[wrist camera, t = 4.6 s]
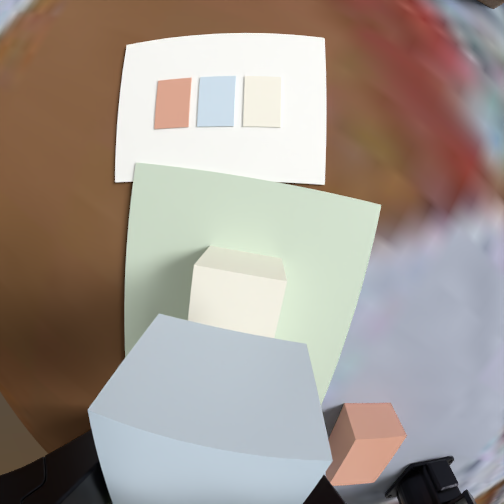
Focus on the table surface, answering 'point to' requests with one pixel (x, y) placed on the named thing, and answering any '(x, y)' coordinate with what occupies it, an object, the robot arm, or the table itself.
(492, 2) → the wooden block set
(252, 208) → the baseplate
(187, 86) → the page
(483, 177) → the table surface
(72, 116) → the table surface
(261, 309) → the brick cream
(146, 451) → the brick blue
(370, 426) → the brick rust
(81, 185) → the table surface
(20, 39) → the table surface
